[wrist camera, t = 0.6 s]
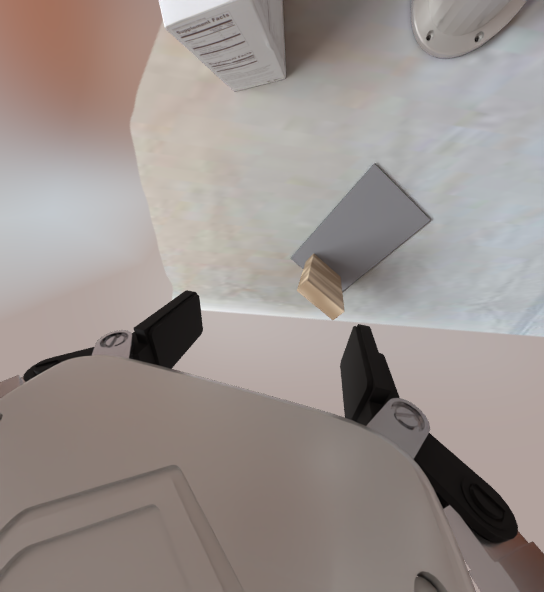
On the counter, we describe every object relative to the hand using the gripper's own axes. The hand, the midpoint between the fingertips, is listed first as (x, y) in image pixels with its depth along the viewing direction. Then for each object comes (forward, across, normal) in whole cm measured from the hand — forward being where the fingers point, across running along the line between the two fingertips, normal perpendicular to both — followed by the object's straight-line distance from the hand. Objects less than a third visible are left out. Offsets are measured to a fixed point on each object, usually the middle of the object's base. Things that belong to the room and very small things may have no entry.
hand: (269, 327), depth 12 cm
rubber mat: (+34, -9, +1) cm, 35 cm away
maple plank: (+34, -5, +8) cm, 35 cm away
